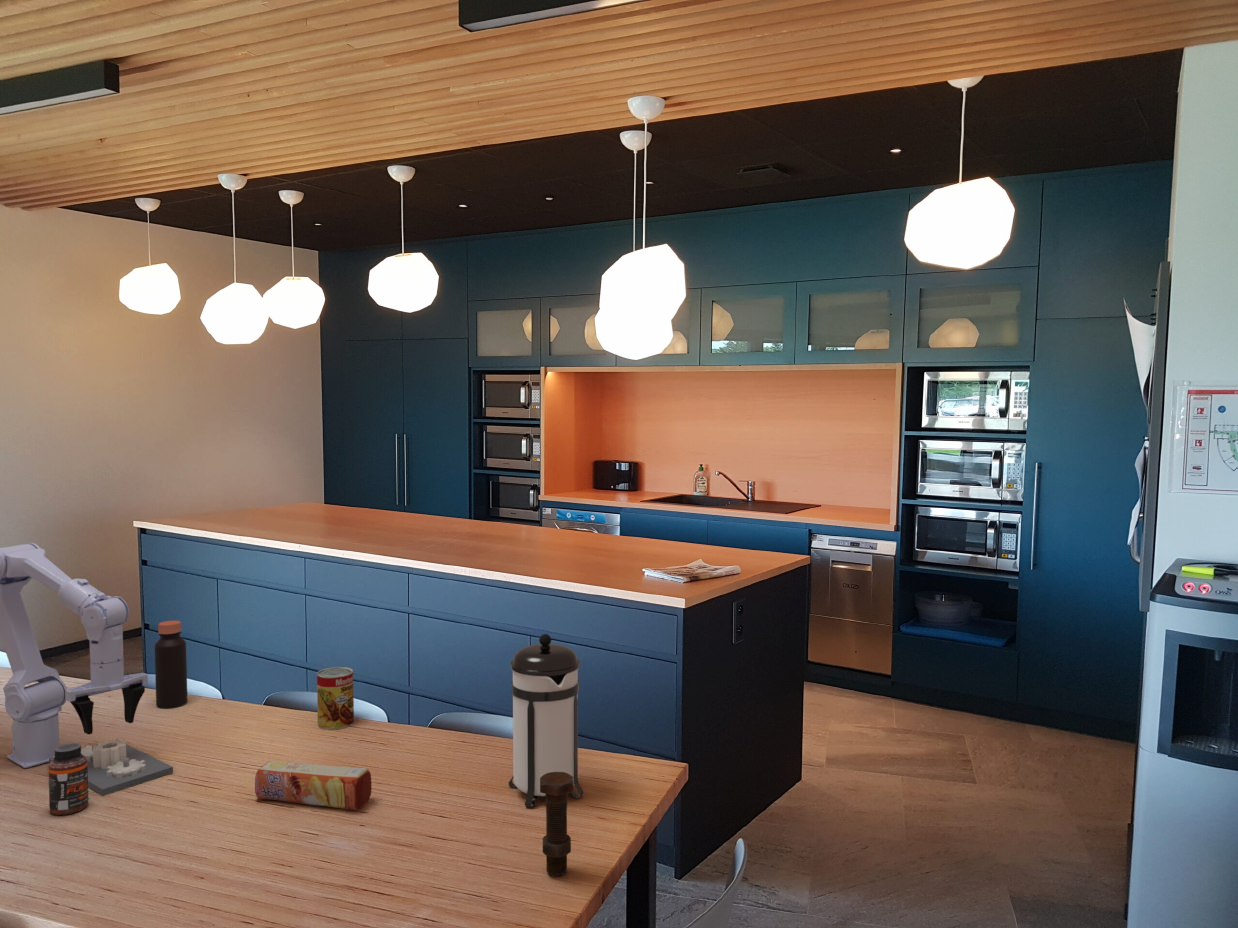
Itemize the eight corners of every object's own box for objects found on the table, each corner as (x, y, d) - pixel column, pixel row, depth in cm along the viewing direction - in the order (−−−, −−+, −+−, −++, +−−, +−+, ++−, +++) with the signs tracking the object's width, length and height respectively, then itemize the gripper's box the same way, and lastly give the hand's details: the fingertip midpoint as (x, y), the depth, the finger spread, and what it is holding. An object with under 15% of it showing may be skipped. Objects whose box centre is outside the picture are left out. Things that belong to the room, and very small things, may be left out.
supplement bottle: (70, 817, 154) (67, 754, 154) (41, 814, 156) (38, 751, 155) (96, 803, 160) (94, 742, 160) (68, 800, 161) (66, 739, 161)
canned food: (347, 729, 197) (346, 677, 197) (312, 729, 197) (311, 676, 197) (358, 717, 205) (357, 666, 204) (324, 717, 205) (323, 666, 204)
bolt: (540, 863, 139) (540, 770, 138) (572, 862, 139) (572, 769, 139) (540, 883, 133) (539, 786, 132) (573, 881, 134) (573, 785, 133)
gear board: (49, 764, 178) (48, 740, 177) (117, 744, 188) (116, 722, 188) (102, 795, 163) (101, 770, 163) (173, 772, 174) (172, 748, 173)
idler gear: (88, 763, 175) (87, 746, 175) (118, 754, 180) (118, 737, 179) (101, 770, 172) (100, 753, 171) (132, 761, 176) (131, 744, 176)
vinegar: (149, 707, 211) (147, 625, 210) (168, 698, 218) (166, 619, 217) (175, 709, 210) (173, 626, 209) (193, 700, 217) (191, 620, 216)
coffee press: (601, 781, 170) (601, 628, 168) (561, 816, 155) (561, 648, 154) (523, 766, 177) (523, 618, 175) (478, 797, 163) (477, 637, 161)
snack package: (251, 802, 161) (250, 766, 161) (274, 787, 167) (273, 752, 167) (355, 815, 156) (355, 778, 155) (375, 799, 162) (374, 764, 162)
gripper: (75, 672, 166) (77, 742, 167) (154, 655, 178) (156, 721, 179) (59, 665, 170) (62, 734, 171) (137, 649, 182) (139, 714, 183)
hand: (109, 727), depth 175 cm, fingers open, 7 cm apart
